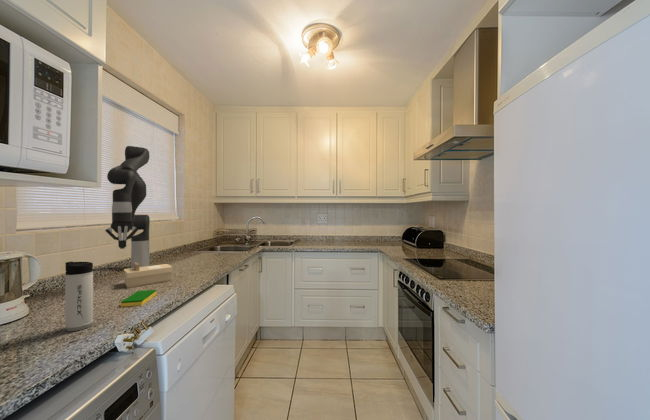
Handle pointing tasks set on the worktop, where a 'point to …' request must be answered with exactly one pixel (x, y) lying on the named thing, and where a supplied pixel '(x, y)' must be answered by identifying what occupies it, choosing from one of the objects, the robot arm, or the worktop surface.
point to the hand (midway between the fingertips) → (122, 248)
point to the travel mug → (78, 295)
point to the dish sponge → (138, 298)
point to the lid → (147, 270)
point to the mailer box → (147, 279)
